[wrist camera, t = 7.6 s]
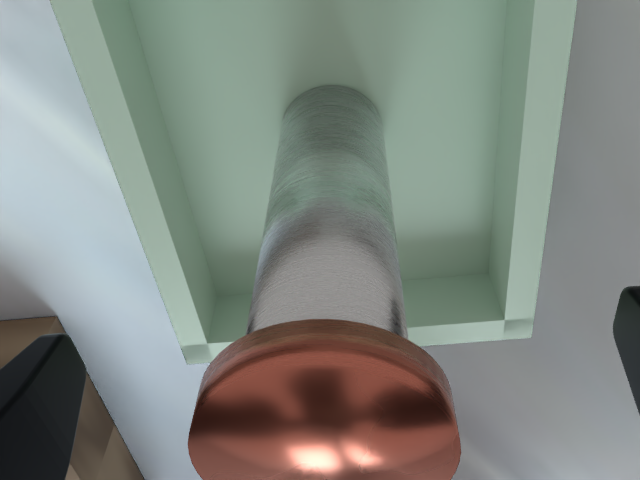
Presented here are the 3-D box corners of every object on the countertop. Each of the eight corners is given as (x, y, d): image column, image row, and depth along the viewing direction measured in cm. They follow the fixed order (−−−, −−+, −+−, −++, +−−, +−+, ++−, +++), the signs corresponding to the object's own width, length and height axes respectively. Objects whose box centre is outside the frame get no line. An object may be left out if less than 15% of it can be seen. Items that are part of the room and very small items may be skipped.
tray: (508, 277, 19) (531, 338, 17) (201, 303, 20) (187, 364, 18) (552, -181, 12) (601, -176, 10) (66, -112, 12) (14, -93, 10)
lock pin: (404, 186, 16) (457, 521, 9) (274, 197, 16) (221, 529, 9) (400, 57, 14) (465, 360, 7) (249, 72, 14) (154, 377, 7)
